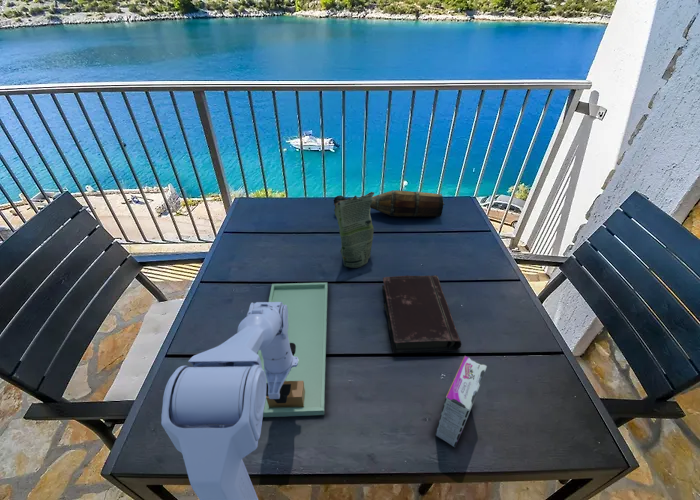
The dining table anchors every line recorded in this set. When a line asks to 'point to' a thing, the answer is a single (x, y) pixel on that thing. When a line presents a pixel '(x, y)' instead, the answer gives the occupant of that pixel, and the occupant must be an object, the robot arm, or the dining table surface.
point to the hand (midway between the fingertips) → (283, 385)
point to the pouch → (355, 229)
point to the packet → (291, 396)
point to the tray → (304, 343)
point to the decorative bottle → (405, 203)
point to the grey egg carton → (460, 400)
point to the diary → (418, 315)
